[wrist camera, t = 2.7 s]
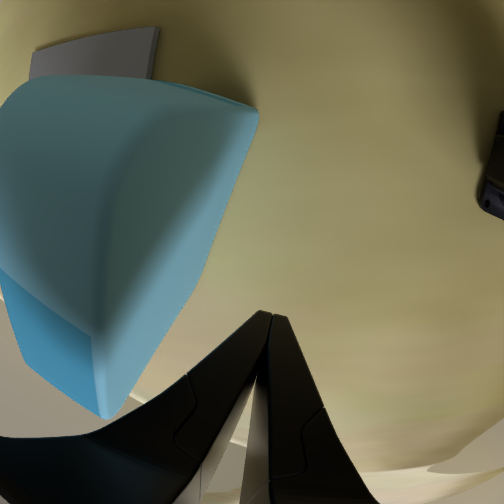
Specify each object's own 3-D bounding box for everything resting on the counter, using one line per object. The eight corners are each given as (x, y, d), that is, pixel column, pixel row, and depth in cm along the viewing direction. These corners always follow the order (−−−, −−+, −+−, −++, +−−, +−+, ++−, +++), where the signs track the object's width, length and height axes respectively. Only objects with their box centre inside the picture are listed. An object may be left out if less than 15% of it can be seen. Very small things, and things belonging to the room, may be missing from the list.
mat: (160, 28, 12) (155, 26, 12) (144, 306, 22) (141, 311, 21) (37, 52, 14) (32, 52, 13) (45, 267, 23) (41, 270, 23)
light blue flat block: (189, 84, 14) (-8, 79, 3) (265, 110, 14) (130, 107, 3) (142, 256, 20) (29, 376, 9) (198, 284, 20) (108, 432, 9)
